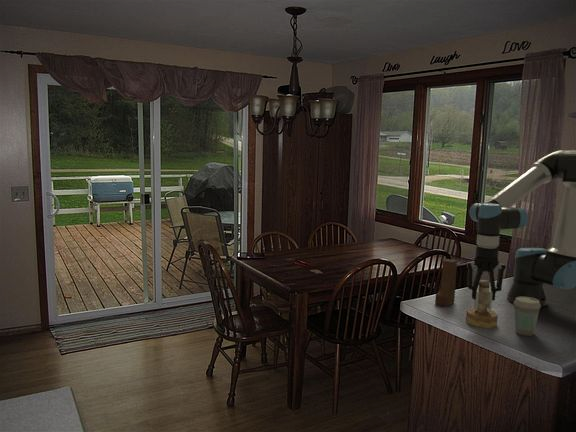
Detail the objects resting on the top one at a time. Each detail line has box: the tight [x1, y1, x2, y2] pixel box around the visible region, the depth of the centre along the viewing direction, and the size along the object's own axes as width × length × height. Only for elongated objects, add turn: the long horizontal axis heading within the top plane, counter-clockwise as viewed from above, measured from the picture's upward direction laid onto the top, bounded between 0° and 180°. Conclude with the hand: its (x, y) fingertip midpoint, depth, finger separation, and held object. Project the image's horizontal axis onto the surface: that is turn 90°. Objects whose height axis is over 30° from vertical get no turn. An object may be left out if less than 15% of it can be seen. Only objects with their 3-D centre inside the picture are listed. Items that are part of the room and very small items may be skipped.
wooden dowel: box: [477, 279, 490, 315], centre depth 177 cm, size 4×4×16 cm
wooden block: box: [434, 258, 458, 308], centre depth 198 cm, size 9×4×18 cm, turn 137°
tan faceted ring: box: [465, 306, 499, 329], centre depth 178 cm, size 10×10×4 cm
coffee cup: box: [513, 297, 542, 337], centre depth 169 cm, size 8×9×12 cm
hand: (482, 307), depth 177 cm, fingers open, 4 cm apart
